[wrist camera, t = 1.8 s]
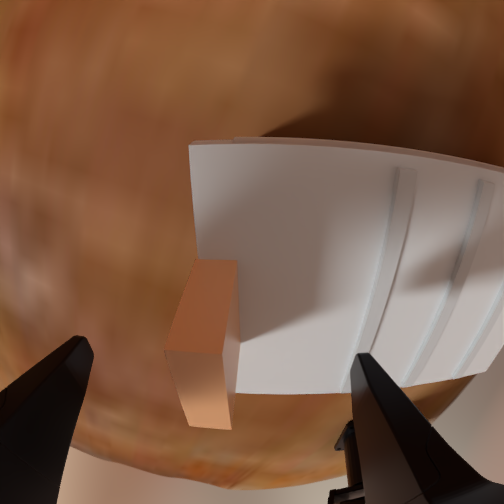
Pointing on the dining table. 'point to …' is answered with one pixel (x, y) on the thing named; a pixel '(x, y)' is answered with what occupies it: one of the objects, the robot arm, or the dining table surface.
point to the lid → (334, 269)
